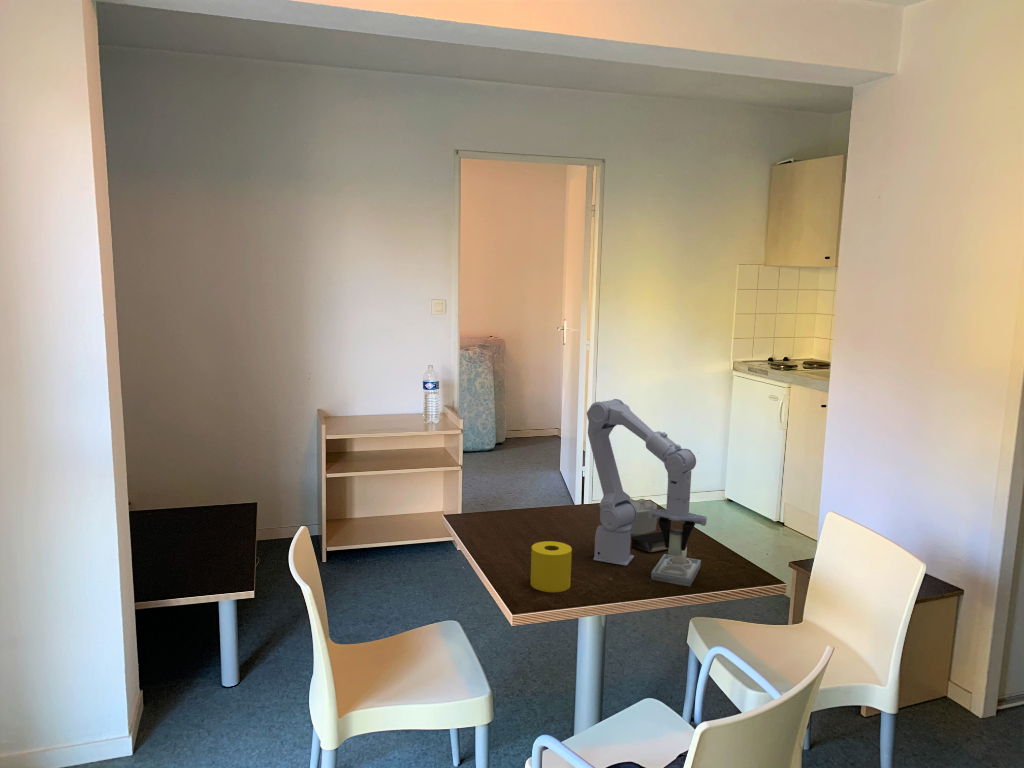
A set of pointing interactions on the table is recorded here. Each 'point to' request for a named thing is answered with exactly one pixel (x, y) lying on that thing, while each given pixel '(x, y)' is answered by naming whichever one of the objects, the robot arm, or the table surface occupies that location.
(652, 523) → the lumpy-topped squat cylinder
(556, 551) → the yellow cylinder with hole
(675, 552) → the pale green lidded jar
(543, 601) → the table surface
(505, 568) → the table surface
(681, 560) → the jaw peg ivory
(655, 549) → the black sponge
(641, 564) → the table surface
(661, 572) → the tray
